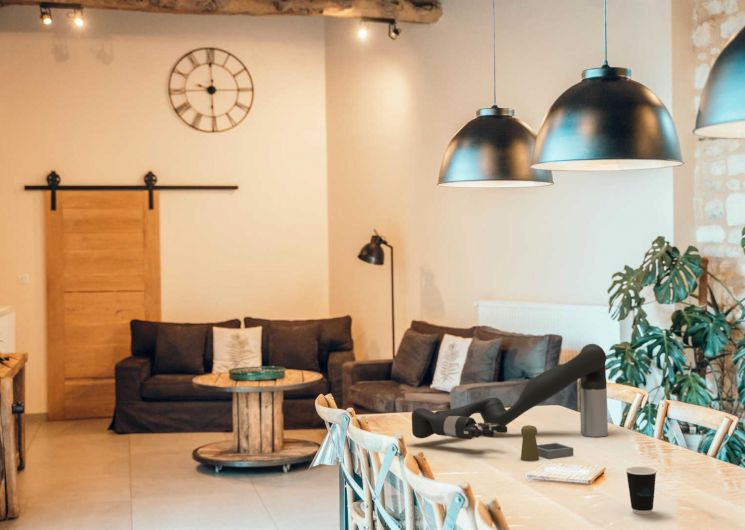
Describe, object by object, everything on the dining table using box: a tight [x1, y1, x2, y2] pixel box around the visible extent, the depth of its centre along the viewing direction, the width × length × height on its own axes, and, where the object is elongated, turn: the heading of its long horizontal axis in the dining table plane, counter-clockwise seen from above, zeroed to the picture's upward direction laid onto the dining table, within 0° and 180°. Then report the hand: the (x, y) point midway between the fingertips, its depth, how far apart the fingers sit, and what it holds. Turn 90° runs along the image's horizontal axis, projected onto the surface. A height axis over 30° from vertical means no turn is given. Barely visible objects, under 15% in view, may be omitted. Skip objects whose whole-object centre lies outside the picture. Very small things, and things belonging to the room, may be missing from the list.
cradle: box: [537, 442, 574, 460], centre depth 320 cm, size 10×10×3 cm
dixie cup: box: [625, 466, 658, 515], centre depth 249 cm, size 8×8×11 cm
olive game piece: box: [520, 424, 540, 462], centre depth 315 cm, size 6×6×11 cm
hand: (500, 431), depth 322 cm, fingers open, 8 cm apart
